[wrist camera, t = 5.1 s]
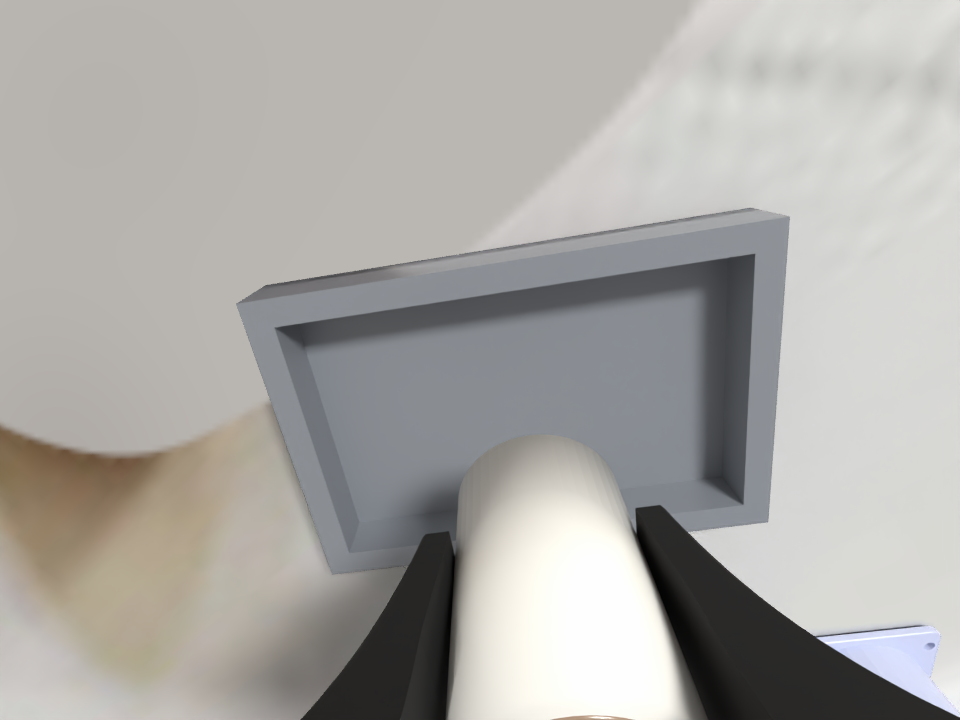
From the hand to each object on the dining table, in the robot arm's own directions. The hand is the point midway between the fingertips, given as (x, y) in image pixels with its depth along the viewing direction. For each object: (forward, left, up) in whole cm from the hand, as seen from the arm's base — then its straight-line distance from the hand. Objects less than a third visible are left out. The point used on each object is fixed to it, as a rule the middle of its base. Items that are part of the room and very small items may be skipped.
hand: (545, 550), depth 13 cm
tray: (0, 0, -9) cm, 9 cm away
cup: (0, 0, -2) cm, 2 cm away
